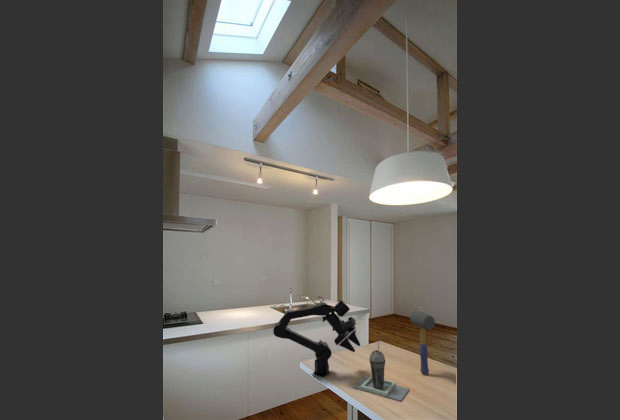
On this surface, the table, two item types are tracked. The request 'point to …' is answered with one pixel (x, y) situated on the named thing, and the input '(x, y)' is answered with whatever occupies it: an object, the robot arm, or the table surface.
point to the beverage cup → (377, 368)
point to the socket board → (388, 390)
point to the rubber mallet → (423, 335)
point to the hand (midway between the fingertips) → (357, 348)
